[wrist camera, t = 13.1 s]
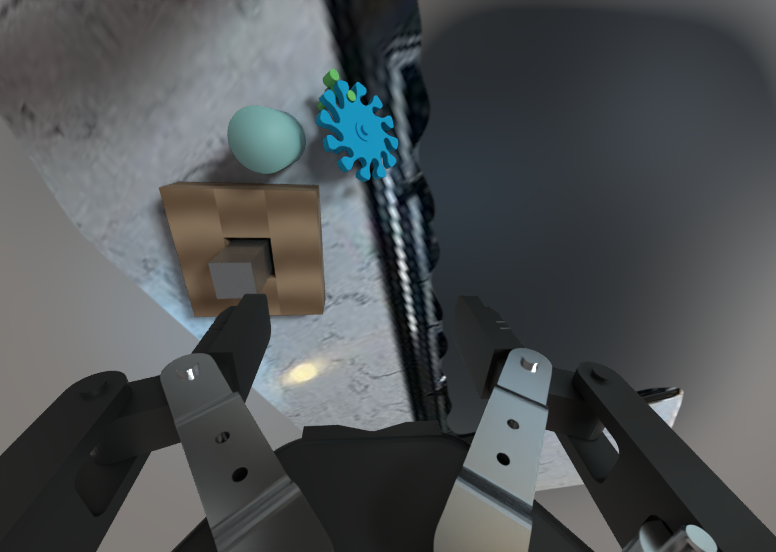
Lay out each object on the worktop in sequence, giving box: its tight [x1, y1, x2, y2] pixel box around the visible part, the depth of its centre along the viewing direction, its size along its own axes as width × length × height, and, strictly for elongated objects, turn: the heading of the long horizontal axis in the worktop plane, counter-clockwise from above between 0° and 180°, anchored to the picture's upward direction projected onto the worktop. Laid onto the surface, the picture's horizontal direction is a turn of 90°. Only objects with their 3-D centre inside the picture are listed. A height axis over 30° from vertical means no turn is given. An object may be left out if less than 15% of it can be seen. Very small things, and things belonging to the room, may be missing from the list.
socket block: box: [159, 182, 325, 317], centre depth 38 cm, size 16×16×4 cm
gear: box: [316, 69, 398, 182], centre depth 33 cm, size 11×6×10 cm
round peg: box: [228, 106, 306, 174], centre depth 31 cm, size 6×6×8 cm
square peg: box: [208, 237, 274, 299], centre depth 35 cm, size 4×4×10 cm
